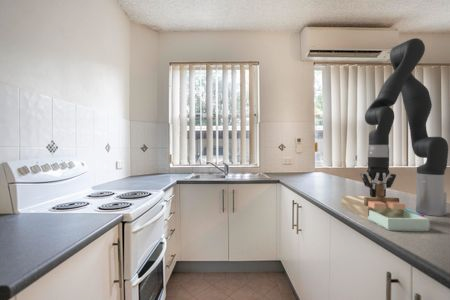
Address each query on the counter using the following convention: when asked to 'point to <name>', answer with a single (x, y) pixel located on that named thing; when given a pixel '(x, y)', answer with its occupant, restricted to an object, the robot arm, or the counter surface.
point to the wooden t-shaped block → (379, 195)
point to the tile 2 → (395, 205)
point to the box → (400, 222)
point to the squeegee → (414, 212)
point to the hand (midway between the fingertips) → (377, 197)
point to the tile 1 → (377, 205)
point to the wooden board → (367, 207)
